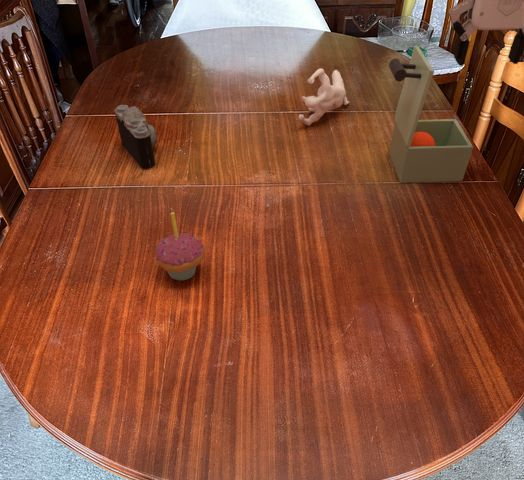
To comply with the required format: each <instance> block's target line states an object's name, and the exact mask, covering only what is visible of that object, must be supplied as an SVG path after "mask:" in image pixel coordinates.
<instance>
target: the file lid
mask: <svg viewBox="0 0 524 480" xmlns="http://www.w3.org/2000/svg"><path fill="white" fill-rule="evenodd" d="M388 68H389V70H390V72H391V74H392V76H393V78H394V80H395V81H396V82H402V81H403V85H402V89H401V91H400V96H399V98H398V102H397V106H396V110H395V114H394V116H393V119H394V122H395V121H396V124H397V126H398V128H399V130H400V132H401V135H402V137H403V139H404V141H405V144H406V146H410V145H411V142H412V139H413V136H414V133H415V130H416V127H417V123H418V120H420V117H421V114H422V111H423V108H424V105H425V102H426V99H427V95H428V92H429V90H430V86H431V82H432V80H433V77H434V73H435V69H434V68H433V67H432V65H431V64H430V62H429V61H428V59H427V58H426V56H425V54H424V53H423V51H422V49H421V48H420V47H419V45H414V46H413V50H412V54H411V57H410V61H409V63H402V62H401V61H400V59H399V58H392V59H391V60H390V62H389V63H388ZM406 70H407V71H406Z"/></svg>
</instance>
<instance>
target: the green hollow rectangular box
mask: <svg viewBox="0 0 524 480" xmlns="http://www.w3.org/2000/svg"><path fill="white" fill-rule="evenodd" d="M416 132H425V133H428V134H430V135H431V136H432V138H433V139H434V141H435V146H420V147H411V146H406V144H405V141H404V139H403V137H402V135H401V132H400V130H399V128H398V126H397V124H396V121H395V120H394V125H393V130H392V135H391V141H390V145H389V151H388V155H389V157H390V160H391V162H392V166H393V168H394V170H395V172H396V175H397V177H398V180H399V183H400V184H404V183H439V182H445V183H447V182H463V180H464V177H465V174H466V171H467V168H468V164H469V162H470V158H471V156H472V153H473V150H474V146H473V144H472V143H471V141H470V139H469V137H468V136H467V134H466V132H465V131H464V130H463V128H462V126H461V125H460V123H459V122H458V120H457V119H456V118H447V119H446V118H444V119H442V118H441V119H440V118H439V119H419V120H418V123H417V127H416V130H415V133H416Z"/></svg>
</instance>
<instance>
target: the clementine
mask: <svg viewBox="0 0 524 480" xmlns="http://www.w3.org/2000/svg"><path fill="white" fill-rule="evenodd" d="M410 146H411V147H420V146H435V141H434V139H433V138H432V136H431V135H430V134H428V133H425V132H416V133H414V136H413V139H412V142H411V145H410Z"/></svg>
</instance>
